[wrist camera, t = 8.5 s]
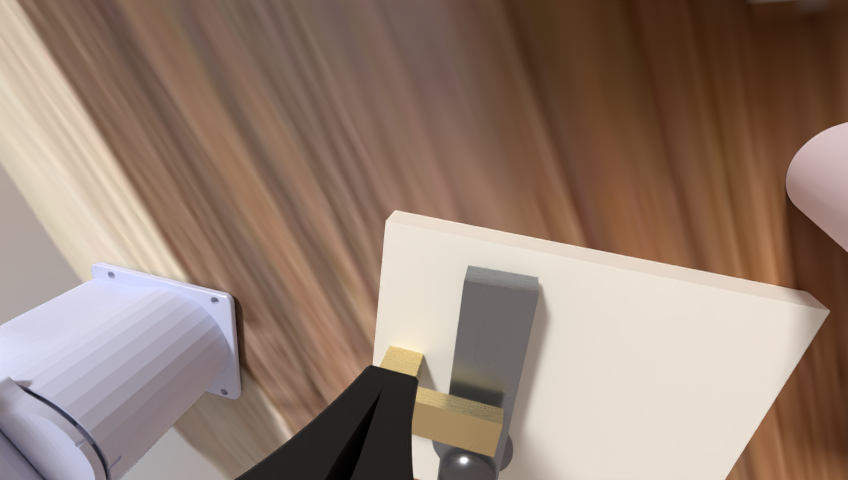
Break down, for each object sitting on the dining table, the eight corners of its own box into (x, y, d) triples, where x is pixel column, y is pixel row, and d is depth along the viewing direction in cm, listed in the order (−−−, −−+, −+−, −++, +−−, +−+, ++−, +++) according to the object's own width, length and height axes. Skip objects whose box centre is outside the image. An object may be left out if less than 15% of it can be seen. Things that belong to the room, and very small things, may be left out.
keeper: (386, 373, 23) (365, 421, 20) (389, 343, 22) (368, 388, 19) (498, 402, 22) (493, 457, 19) (506, 372, 21) (502, 424, 18)
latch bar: (495, 476, 23) (492, 509, 21) (441, 462, 24) (434, 494, 22) (538, 277, 18) (539, 300, 16) (468, 265, 18) (462, 286, 17)
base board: (371, 442, 27) (362, 465, 26) (395, 210, 20) (384, 222, 19) (668, 527, 24) (678, 559, 23) (807, 291, 18) (834, 313, 16)
